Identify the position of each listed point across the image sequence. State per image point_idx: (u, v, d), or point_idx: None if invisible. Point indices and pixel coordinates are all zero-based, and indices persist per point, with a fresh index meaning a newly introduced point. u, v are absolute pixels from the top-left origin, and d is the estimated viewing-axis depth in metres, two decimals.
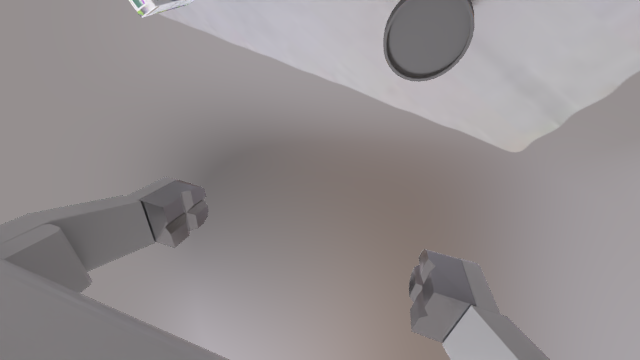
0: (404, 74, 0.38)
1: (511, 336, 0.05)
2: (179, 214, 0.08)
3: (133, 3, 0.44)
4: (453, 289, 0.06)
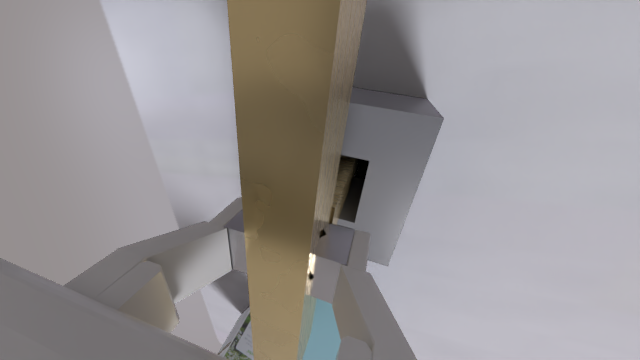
0: None
1: (363, 287, 0.05)
2: None
3: None
4: (332, 252, 0.06)
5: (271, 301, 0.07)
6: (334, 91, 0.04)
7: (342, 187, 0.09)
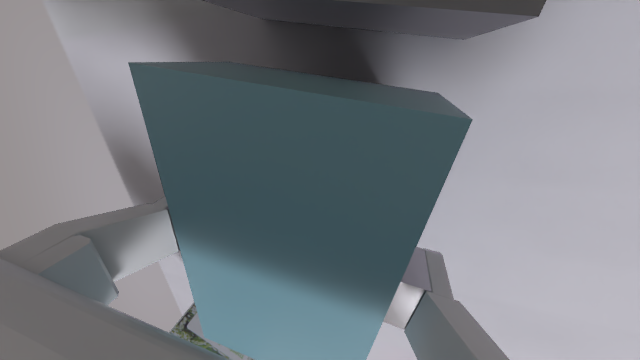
0: None
1: (460, 319, 0.05)
2: None
3: None
4: (411, 276, 0.06)
5: None
6: None
7: None
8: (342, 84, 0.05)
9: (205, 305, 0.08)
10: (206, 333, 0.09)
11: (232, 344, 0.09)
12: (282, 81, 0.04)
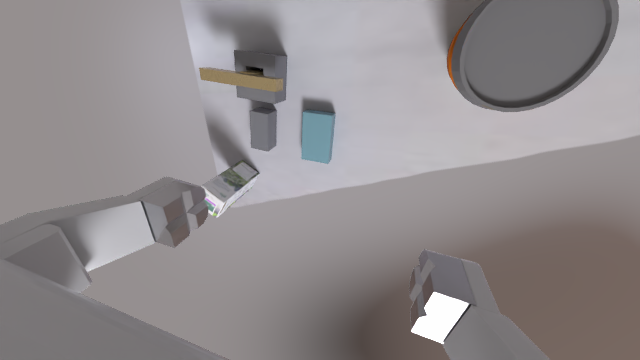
0: (524, 105, 0.24)
1: (511, 336, 0.05)
2: (179, 214, 0.08)
3: (208, 210, 0.47)
4: (453, 289, 0.06)
5: (230, 77, 0.37)
6: (265, 89, 0.36)
7: None
8: (323, 112, 0.45)
9: (303, 148, 0.48)
10: (302, 157, 0.49)
11: (307, 158, 0.49)
12: (317, 113, 0.44)
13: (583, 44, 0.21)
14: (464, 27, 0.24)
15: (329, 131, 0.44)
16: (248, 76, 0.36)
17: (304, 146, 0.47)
